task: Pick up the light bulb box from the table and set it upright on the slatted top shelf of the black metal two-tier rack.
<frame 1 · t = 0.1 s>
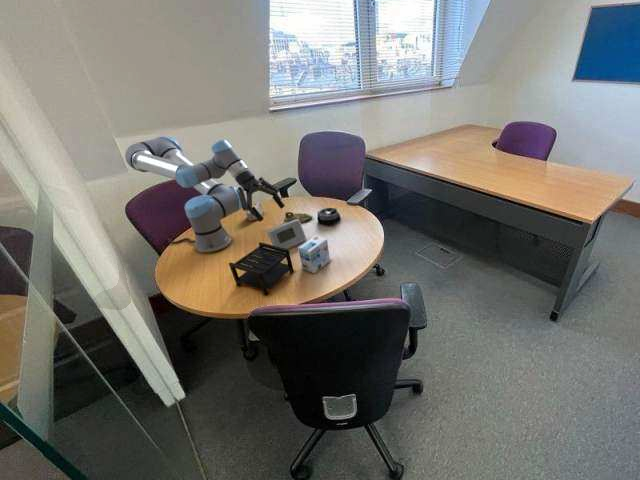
hand: (272, 213, 139), 15 cm above the table, tool tilted 35°, fingers open, 13 cm apart
rack: (266, 278, 124), on the table
light bulb box: (316, 265, 131), on the table
digital clock: (290, 245, 145), on the table
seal: (298, 219, 167), on the table
mineral specimen: (254, 217, 171), on the table
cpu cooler: (329, 221, 164), on the table
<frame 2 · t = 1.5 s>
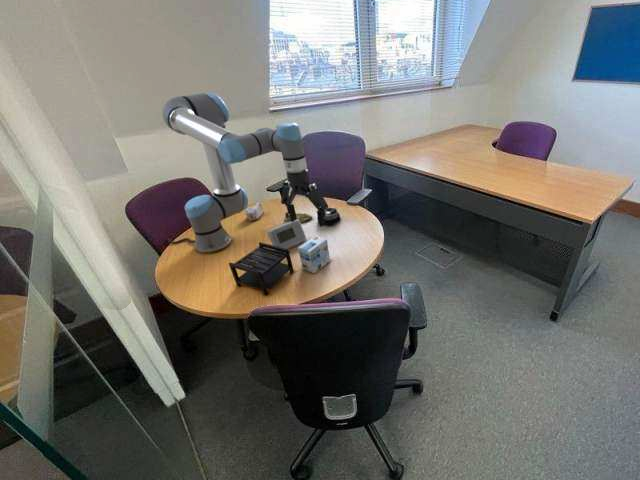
hand: (308, 222, 121), 20 cm above the table, tool pointing down, fingers open, 13 cm apart
nothing on the table moved.
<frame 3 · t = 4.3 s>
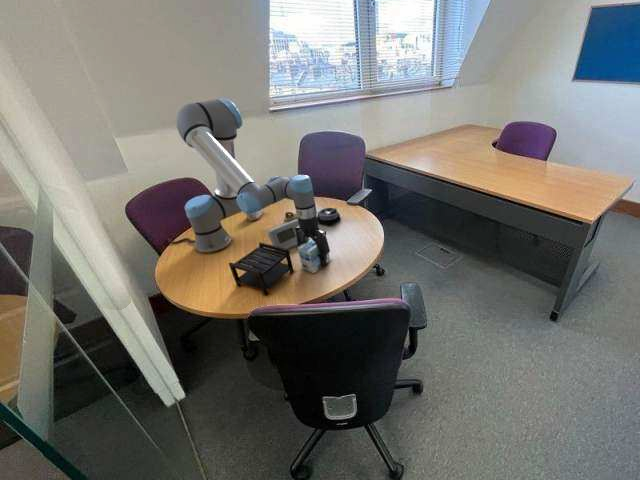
hand: (316, 264, 130), 0 cm above the table, tool pointing down, fingers closed on light bulb box, 7 cm apart
light bulb box: (316, 265, 131), on the table, touching gripper
everything else where it was.
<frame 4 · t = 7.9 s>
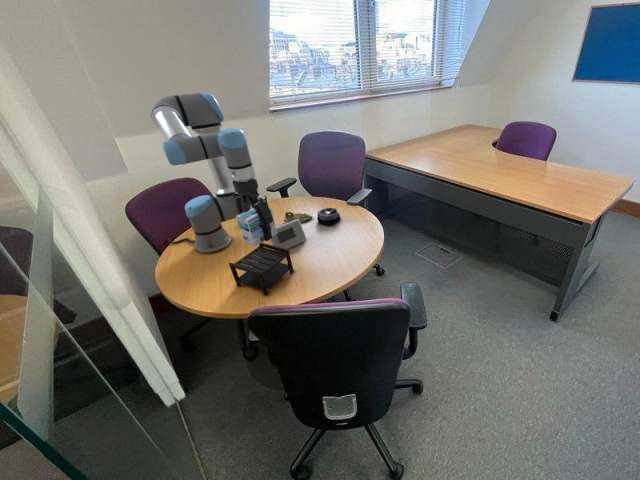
hand: (261, 237, 115), 19 cm above the table, tool pointing down, fingers closed on light bulb box, 7 cm apart
light bulb box: (261, 238, 115), point 18 cm above the table, touching gripper
everything else where it was.
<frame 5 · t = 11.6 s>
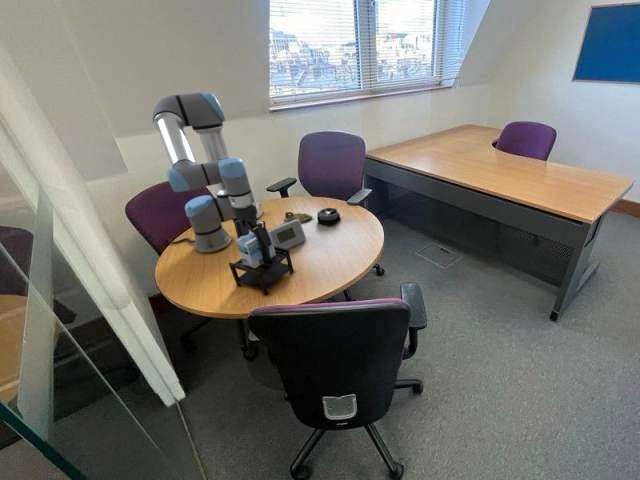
hand: (260, 258, 119), 10 cm above the table, tool pointing down, fingers closed on light bulb box, 7 cm apart
light bulb box: (260, 259, 119), point 9 cm above the table, touching gripper
everything else where it was.
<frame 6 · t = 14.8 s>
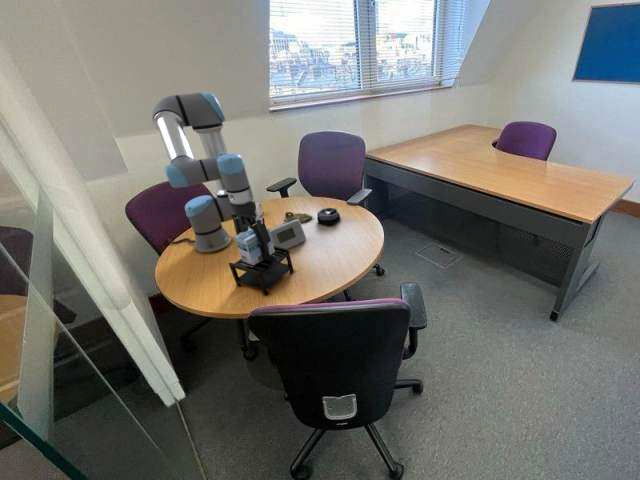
hand: (259, 255, 118), 11 cm above the table, tool pointing down, fingers closed on light bulb box, 7 cm apart
light bulb box: (259, 256, 118), point 11 cm above the table, touching gripper
everything else where it was.
when the fingers open (11 cm above the table, at t = 17.2 s): light bulb box drops 1 cm, resting on rack.
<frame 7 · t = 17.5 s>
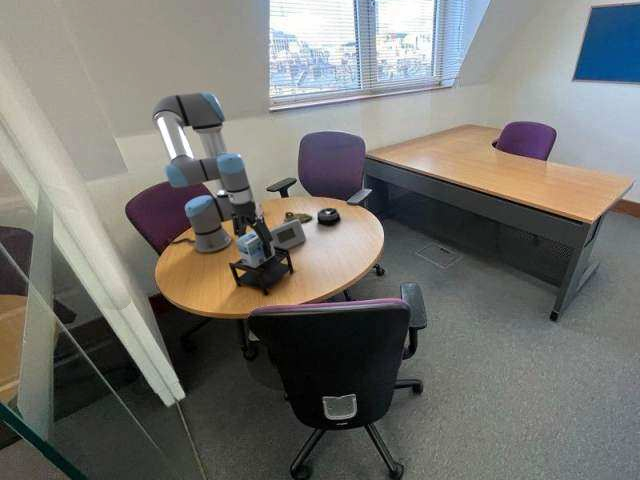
hand: (258, 254, 118), 12 cm above the table, tool pointing down, fingers open, 10 cm apart
light bulb box: (260, 259, 119), point 9 cm above the table, touching rack
everything else where it was.
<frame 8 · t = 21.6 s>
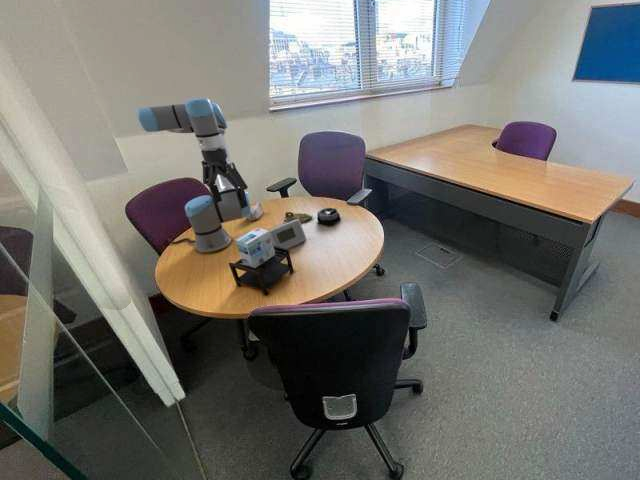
hand: (231, 204, 117), 29 cm above the table, tool pointing down, fingers open, 13 cm apart
nothing on the table moved.
at the end: light bulb box inside the target area on the rack (0.2 cm from its centre), point 9.3 cm above the rack's base; light bulb box tilted 0°; the gripper is holding nothing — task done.
